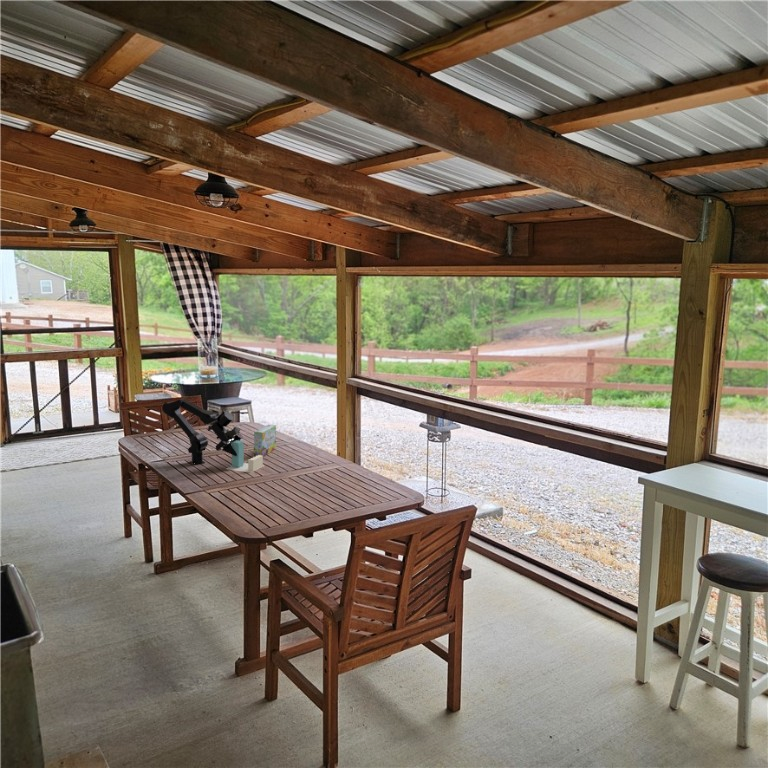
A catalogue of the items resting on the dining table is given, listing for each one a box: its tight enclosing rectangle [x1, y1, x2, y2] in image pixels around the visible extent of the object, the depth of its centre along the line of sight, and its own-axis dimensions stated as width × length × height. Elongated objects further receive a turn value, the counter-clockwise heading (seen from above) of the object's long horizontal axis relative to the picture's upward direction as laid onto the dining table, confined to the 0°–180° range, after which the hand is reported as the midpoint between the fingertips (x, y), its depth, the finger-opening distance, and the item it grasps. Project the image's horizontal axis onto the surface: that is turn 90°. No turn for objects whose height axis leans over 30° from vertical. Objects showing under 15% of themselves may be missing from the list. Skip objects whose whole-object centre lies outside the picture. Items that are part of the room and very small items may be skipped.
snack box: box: [253, 424, 277, 458], centre depth 366 cm, size 21×6×15 cm, turn 168°
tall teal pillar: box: [231, 440, 245, 467], centre depth 335 cm, size 4×5×13 cm
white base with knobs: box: [225, 455, 265, 474], centre depth 334 cm, size 15×14×7 cm
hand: (239, 454), depth 335 cm, fingers closed on tall teal pillar, 5 cm apart
